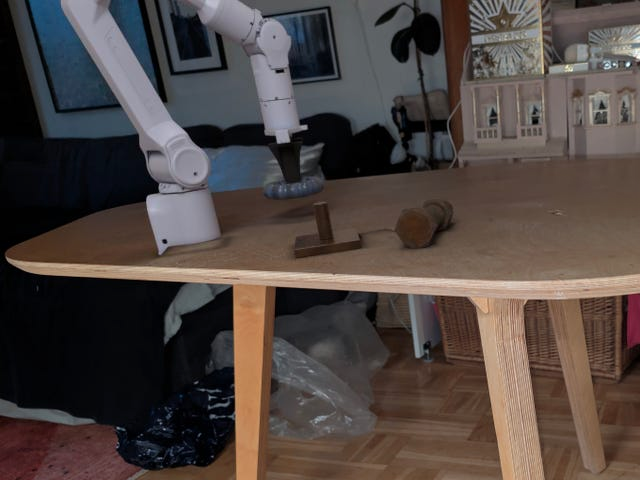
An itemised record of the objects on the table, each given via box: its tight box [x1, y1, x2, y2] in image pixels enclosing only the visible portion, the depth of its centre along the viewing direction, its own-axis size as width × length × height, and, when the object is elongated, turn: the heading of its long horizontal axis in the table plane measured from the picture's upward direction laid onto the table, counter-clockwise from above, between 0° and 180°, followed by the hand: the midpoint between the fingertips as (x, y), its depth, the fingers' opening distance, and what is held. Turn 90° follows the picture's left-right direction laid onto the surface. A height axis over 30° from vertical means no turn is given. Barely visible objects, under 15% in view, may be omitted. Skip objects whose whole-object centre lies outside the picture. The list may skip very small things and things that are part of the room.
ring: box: [262, 175, 325, 201], centre depth 117 cm, size 10×10×2 cm
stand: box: [293, 201, 362, 259], centre depth 100 cm, size 9×9×6 cm
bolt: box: [394, 198, 454, 249], centre depth 100 cm, size 6×5×15 cm
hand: (294, 183), depth 121 cm, fingers closed on ring, 2 cm apart
